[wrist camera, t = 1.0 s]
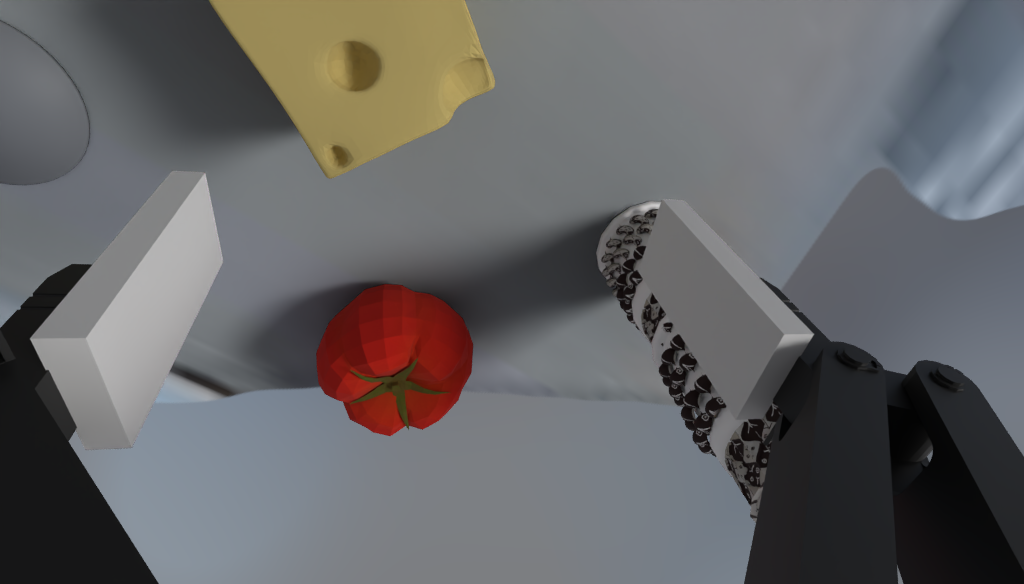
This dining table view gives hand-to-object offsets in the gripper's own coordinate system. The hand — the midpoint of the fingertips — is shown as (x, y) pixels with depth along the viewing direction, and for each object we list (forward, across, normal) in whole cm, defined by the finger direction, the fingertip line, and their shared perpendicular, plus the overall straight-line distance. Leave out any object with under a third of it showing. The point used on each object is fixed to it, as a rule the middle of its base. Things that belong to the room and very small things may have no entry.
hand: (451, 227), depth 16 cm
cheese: (+22, -3, +2) cm, 23 cm away
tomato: (+22, -1, -21) cm, 30 cm away
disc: (+22, -25, -5) cm, 33 cm away
